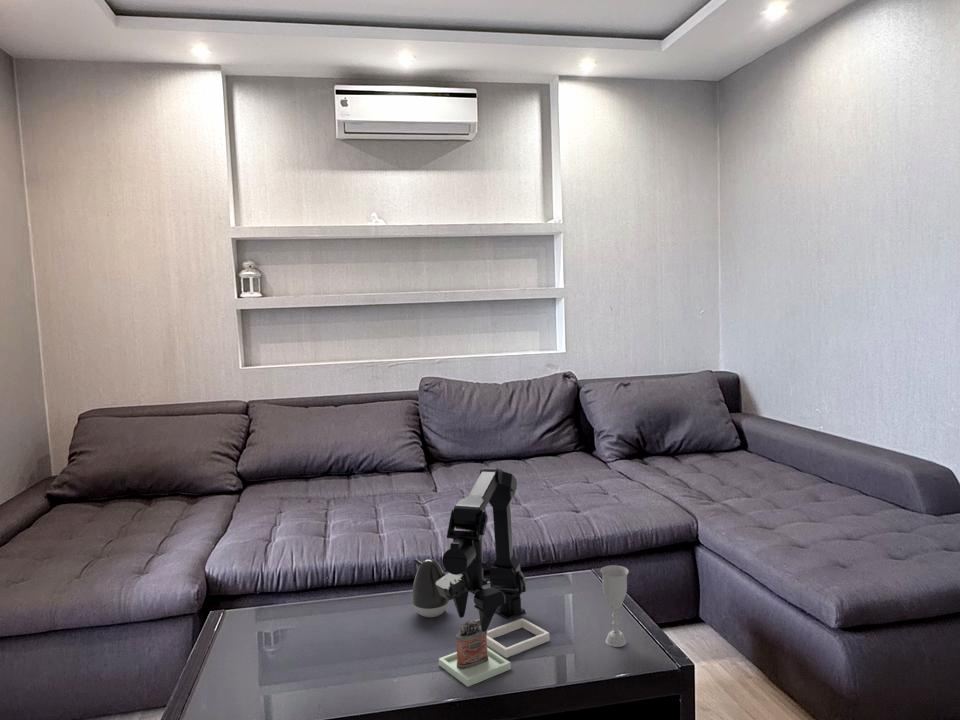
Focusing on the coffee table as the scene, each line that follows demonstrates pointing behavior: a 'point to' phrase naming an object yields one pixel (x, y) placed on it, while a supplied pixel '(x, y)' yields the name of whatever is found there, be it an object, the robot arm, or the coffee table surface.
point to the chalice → (615, 598)
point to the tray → (475, 668)
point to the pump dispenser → (428, 589)
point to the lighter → (471, 645)
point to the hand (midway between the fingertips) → (472, 624)
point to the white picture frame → (540, 638)
